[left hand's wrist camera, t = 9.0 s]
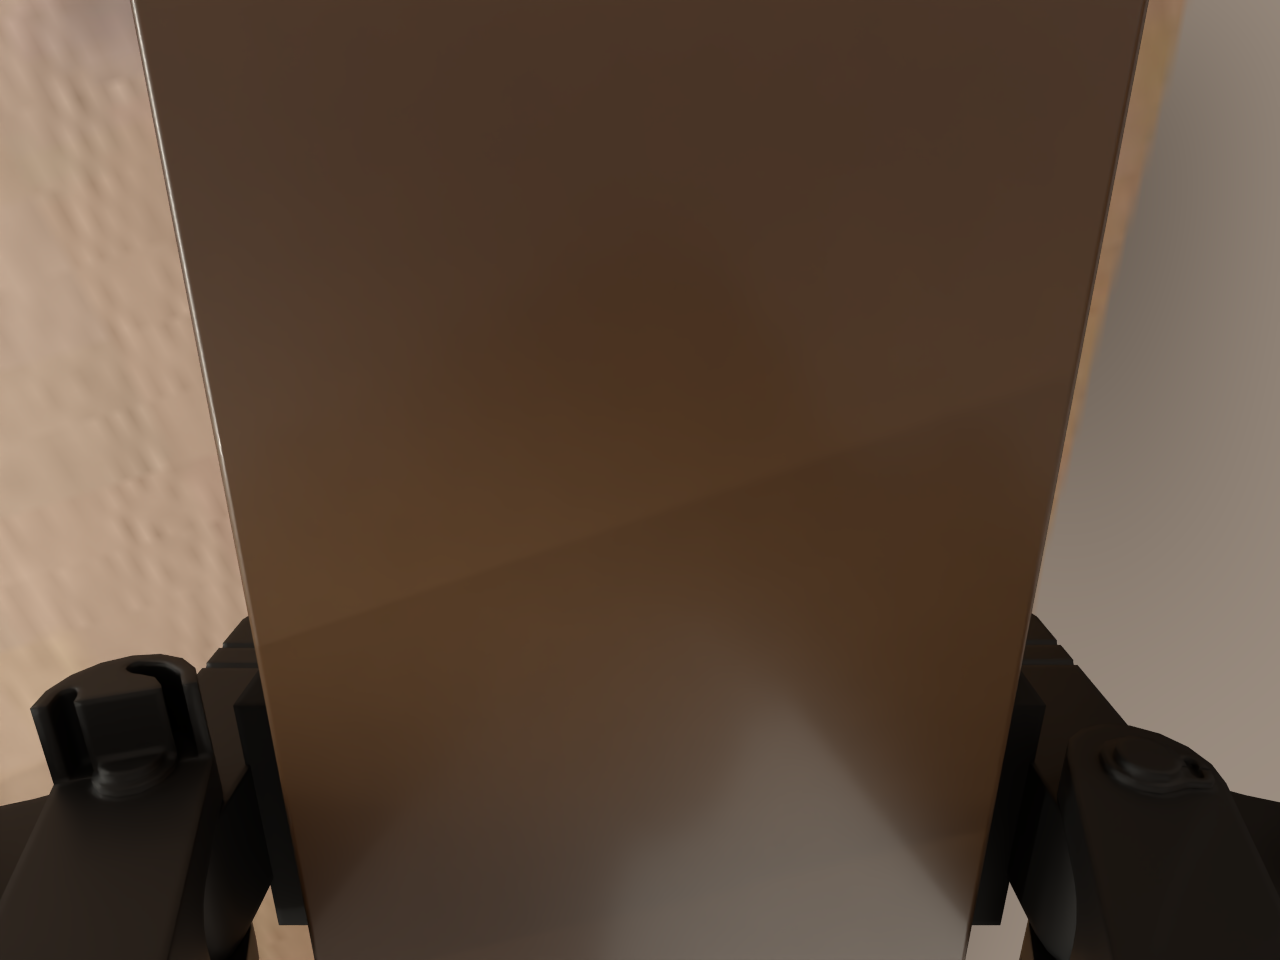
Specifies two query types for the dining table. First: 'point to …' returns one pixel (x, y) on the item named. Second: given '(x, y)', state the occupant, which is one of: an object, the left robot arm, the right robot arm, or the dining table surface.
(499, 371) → the bar
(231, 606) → the dining table surface
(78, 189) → the dining table surface
